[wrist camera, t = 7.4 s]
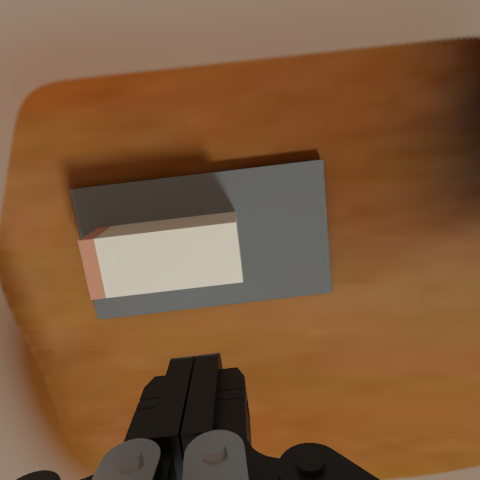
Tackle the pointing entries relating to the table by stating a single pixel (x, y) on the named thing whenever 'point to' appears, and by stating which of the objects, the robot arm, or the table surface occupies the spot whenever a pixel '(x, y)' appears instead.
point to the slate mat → (248, 222)
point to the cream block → (162, 255)
